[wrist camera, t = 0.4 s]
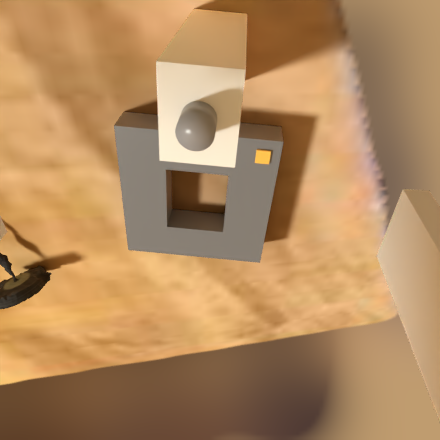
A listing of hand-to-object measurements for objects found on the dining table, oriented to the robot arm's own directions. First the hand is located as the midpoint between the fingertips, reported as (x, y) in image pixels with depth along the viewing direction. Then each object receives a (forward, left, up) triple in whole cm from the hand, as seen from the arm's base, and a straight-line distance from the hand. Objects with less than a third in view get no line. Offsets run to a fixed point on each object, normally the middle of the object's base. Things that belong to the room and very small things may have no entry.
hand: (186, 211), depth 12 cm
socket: (-1, -13, -21) cm, 25 cm away
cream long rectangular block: (0, 0, -21) cm, 22 cm away
